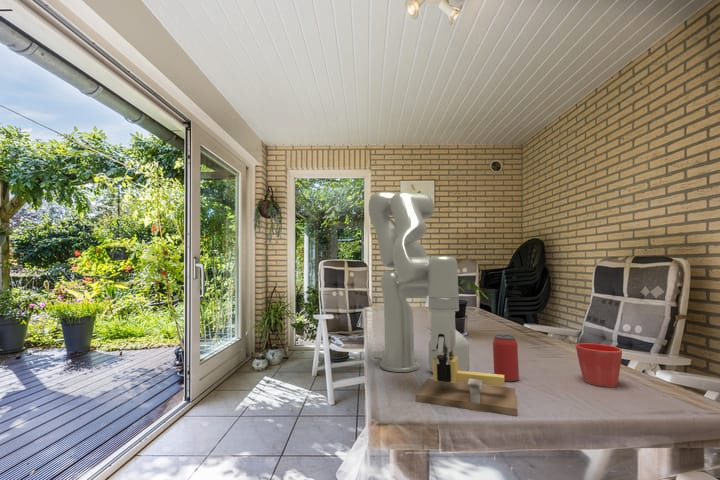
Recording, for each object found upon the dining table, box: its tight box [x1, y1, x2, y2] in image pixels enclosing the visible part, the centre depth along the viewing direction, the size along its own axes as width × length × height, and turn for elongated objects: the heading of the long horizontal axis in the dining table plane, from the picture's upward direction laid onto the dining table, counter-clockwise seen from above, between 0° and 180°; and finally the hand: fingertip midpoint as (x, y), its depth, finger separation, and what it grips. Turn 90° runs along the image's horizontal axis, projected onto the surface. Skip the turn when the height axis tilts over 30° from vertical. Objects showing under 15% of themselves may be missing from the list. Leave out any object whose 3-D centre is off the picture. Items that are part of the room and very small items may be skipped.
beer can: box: [492, 334, 520, 383], centre depth 99 cm, size 7×7×12 cm
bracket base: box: [415, 377, 518, 417], centre depth 84 cm, size 22×14×7 cm, turn 67°
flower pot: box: [575, 342, 623, 388], centre depth 95 cm, size 11×11×10 cm
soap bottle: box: [428, 328, 470, 373], centre depth 105 cm, size 10×10×23 cm
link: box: [432, 356, 506, 387], centre depth 84 cm, size 16×5×5 cm, turn 67°
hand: (446, 376), depth 86 cm, fingers closed on link, 5 cm apart
